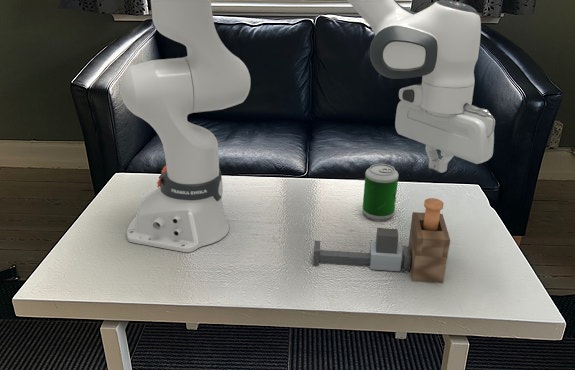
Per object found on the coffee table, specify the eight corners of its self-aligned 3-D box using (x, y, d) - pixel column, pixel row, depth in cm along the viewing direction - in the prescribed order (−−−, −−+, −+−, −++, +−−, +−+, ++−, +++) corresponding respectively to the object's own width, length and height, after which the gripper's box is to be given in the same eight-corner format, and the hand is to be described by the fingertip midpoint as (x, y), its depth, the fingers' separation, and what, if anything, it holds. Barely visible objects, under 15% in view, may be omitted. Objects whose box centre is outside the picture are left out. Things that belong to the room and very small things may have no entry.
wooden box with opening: (412, 281, 111) (417, 237, 106) (407, 253, 120) (412, 212, 115) (443, 283, 110) (450, 239, 106) (436, 254, 119) (442, 213, 115)
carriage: (370, 269, 114) (373, 237, 110) (369, 255, 118) (372, 224, 115) (400, 271, 113) (404, 239, 110) (398, 257, 118) (401, 226, 114)
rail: (313, 265, 115) (313, 250, 114) (314, 254, 119) (314, 240, 117) (409, 272, 114) (411, 257, 112) (407, 260, 117) (409, 246, 116)
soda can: (393, 224, 131) (398, 177, 125) (360, 220, 132) (364, 174, 126) (394, 208, 137) (399, 163, 132) (363, 205, 138) (367, 160, 133)
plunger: (421, 234, 110) (425, 206, 107) (419, 225, 113) (423, 197, 110) (440, 236, 109) (444, 207, 107) (437, 226, 113) (442, 198, 110)
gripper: (508, 109, 93) (495, 184, 99) (416, 83, 108) (409, 150, 114) (483, 115, 90) (471, 193, 96) (392, 88, 105) (387, 156, 111)
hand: (437, 169), depth 105 cm, fingers closed
